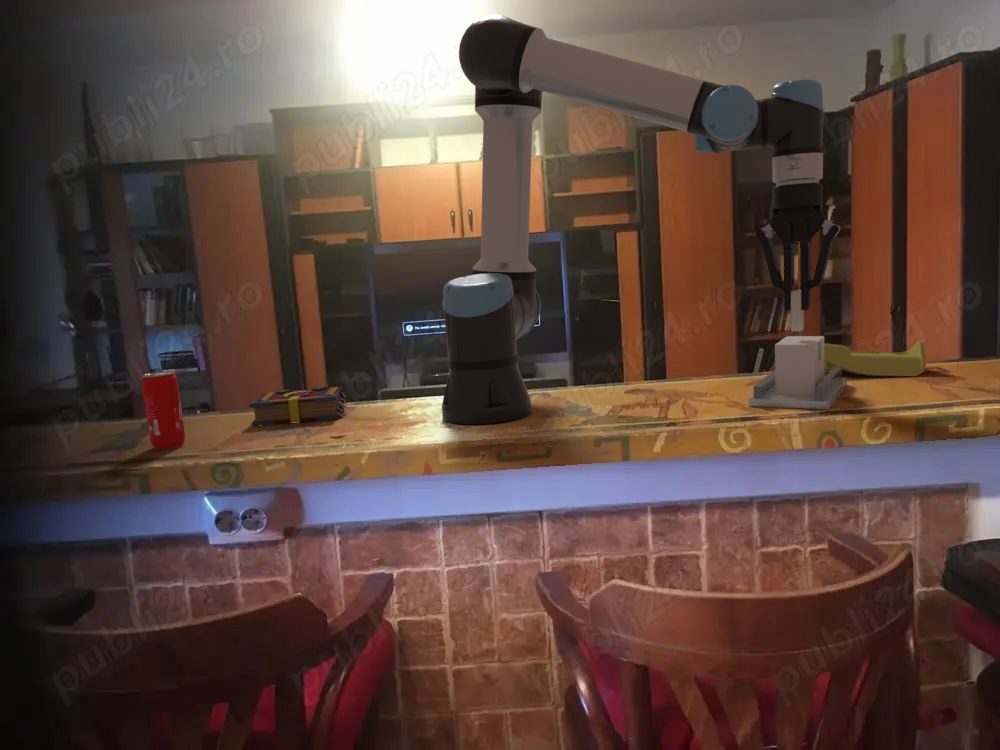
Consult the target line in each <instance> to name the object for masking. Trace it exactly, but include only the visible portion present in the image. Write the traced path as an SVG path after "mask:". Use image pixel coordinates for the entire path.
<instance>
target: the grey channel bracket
mask: <svg viewBox="0 0 1000 750" xmlns="http://www.w3.org/2000/svg"><path fill="white" fill-rule="evenodd" d="M842 372H843V369H842V366H834V367H833V368H832V370H831V371H830V372H829V373H826V375H825V378H824V379H823V380H822V381H821V382H820V383H819V384H818V386H817V387H816V388H815V395H812V394H780V393H776V386H775V369H773V370H771V372H770V373H769V374H767V375H766V376H765V377H763V379H761V380H760V381H758V382H757V383H756V384H755V385H753V394H752V395H751V396H749V398H748V407H765V408H784V409H785V408H787V409H788V408H789V409H810V410H811V409H813V410H815V409H816V410H830V409H831V408H832V406H833V405H834V404H835V402H836V400H837V399H838V398H839V397H840V395H841V394H842V392H843V391H844V390H845V389H846V387H847V384H848V378H847V377H843V375H842V374H843V373H842ZM832 404H833V405H832ZM830 407H831V408H830Z"/></svg>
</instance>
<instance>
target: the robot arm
mask: <svg viewBox="0 0 1000 750" xmlns="http://www.w3.org/2000/svg"><path fill="white" fill-rule="evenodd" d="M458 59H459V63H460V68H461V71H462V72H463V75H464V76H465V77H466V78H467V80H468V81H469V82H470V83H471V84H472V85H473V86H474V91H475V92H474V93H475V95H474V96H475V97H474V111H475V112H476V114H478V115H477V116H479V117H480V118H481V120H482V122H483V125H482V126H483V127H482V131H483V134H482V173H481V174H482V181H481V182H482V183H481V192H482V193H481V229H480V231H481V233H480V259H479V260H478V261H477V262H476V263H475V264H474V265H473V266H472V267H471V270H472V271H471V275H470V274H469V275H466V276H461V277H456V278H454V279H451V280H449V281H448V282H446V283H445V285H444V286H443V289H442V303H441V305H442V309H443V316H444V329H445V339H446V341H445V342H446V349H447V350H446V351H447V352H446V353H447V361H448V376H447V377H448V378H447V381H446V384H445V385H446V386H445V390H444V394H443V399H442V404H441V413H442V416H441V417H442V419H443V420H444V421H445V422H448V423H451V424H458V425H459V424H461V425H487V424H498V423H504V422H511V421H514V420H518V419H523V418H524V417H526V416H527V417H528V416H529V415H530V414H531V413H532V400H531V399H532V398H531V397H530V394H529V392H528V389H527V386H526V384H525V382H524V379H523V377H522V374H521V371H520V369H519V361H518V349H517V347H518V346H517V341H518V340H521V339H522V338H524V337H526V335H528V334H529V333H530V332H531V331H532V330H533V328H534V327H535V325H536V324H537V322H538V321H539V318H540V314H541V310H542V309H541V308H542V302H541V298H540V295H539V293H538V290H537V289H536V288H537V287H536V284H537V283H536V282H537V269H536V267H535V266H534V265H533V264H532V263H531V262H530V260H529V245H530V244H529V241H530V240H529V238H530V210H531V209H530V207H531V206H530V205H531V204H530V203H531V179H532V178H531V176H532V173H531V172H532V144H533V142H532V141H533V140H532V139H533V122H534V120H536V118H537V117H539V115H541V114H542V103H543V102H542V101H543V99H542V98H543V93H547V94H550V95H555V96H558V97H561V98H566V99H570V100H573V101H576V102H580V103H583V104H587V105H589V106H594V107H596V108H601V109H604V110H608V111H611V112H615V113H619V114H622V115H625V116H630V117H633V118H636V119H639V120H643V121H647V122H651V123H654V124H658V125H661V126H664V127H668V128H672V129H675V130H678V131H682V132H685V133H689V134H691V135H694V144H695V149H696V151H697V152H698V153H701V154H710V153H711V154H716V155H717V154H721V153H725V152H735V151H744V150H755V149H767V148H771V151H772V155H771V156H772V163H771V164H772V182H773V184H776V185H775V186H774V187H773V188H772V214H771V216H770V218H769V221H768V223H767V225H765V226H764V227H762V228H760V229H757V230H756V231H755V236H756V238H757V239H758V240H759V243H761V244H762V245H761V246H762V250H763V254H764V257H765V261H766V265H767V269H768V273H769V277H770V281H771V285H772V287H774V288H779V289H781V290H783V298H784V301H783V302H784V303H783V305H784V309H785V310H784V311H790V332H802V331H803V330H804V322H805V321H804V320H805V319H804V311H808V310H810V307H811V292H812V289H813V288H816V287H818V286H821V285H822V284H823V282H824V277H825V275H826V274H825V273H826V271H827V267H828V264H829V263H828V262H829V260H830V259H829V258H830V255H831V251H832V248H833V244H834V241H835V239H836V237H837V236H838V234H839V233H840V232H841V226H840V225H838V224H834V223H832V222H830V221H829V220H827V216H826V214H825V212H824V210H823V209H824V208H823V207H824V206H823V204H824V203H823V199H824V197H823V195H824V194H823V193H824V186H823V184H822V183H820V182H819V181H820V180H822V179H823V178H824V177H823V175H824V150H823V148H824V112H825V111H824V110H825V109H824V103H823V101H824V96H823V94H824V93H823V86H822V84H821V82H820V81H818V80H815V79H805V78H804V79H794V80H790V81H784V82H783V81H782V82H780V83H777V84H776V85H774V86H773V87H772V89H771V95H770V97H767V98H762V99H756V98H755V97H754V94H753V93H752V92H750V91H749V90H748V89H747V88H746V87H744V86H741V85H737V84H725V85H722V84H718V83H715V82H710V81H706V80H703V79H700V78H695V77H693V76H689V75H686V74H682V73H678V72H675V71H672V70H671V71H670V70H667V69H663V68H659V67H656V66H652V65H649V64H644V63H642V62H637V61H633V60H629V59H627V58H624V57H623V58H622V57H620V56H619V57H618V56H615V55H611V54H608V53H604V52H601V51H597V50H593V49H590V48H586V47H582V46H578V45H575V44H571V43H568V42H563V41H560V40H558V39H557V40H556V39H553V38H549V37H547V36H546V33H545V31H544V30H543V29H542V28H540V27H537V26H534V25H533V26H532V25H529V24H526V23H523V22H521V21H517V20H514V19H512V18H510V17H507V16H504V15H500V14H489V15H488V14H487V15H485V16H483V17H480V18H478V19H476V20H475V21H473V22H472V23H471V24H470V25H469V26H468V27H467V28H466V30H465V31H464V33H463V35H462V37H461V39H460V42H459V48H458ZM821 228H823V229H822V235H823V236H824V238H823V241H822V243H821V247H820V251H819V255H818V258H817V263H816V266H815V271H814V273H813V277H812V240H814V238H815V237H816V235H817V234H818V232H819V231H820V230H821ZM773 231H774V232H775V234H776V235H777V236H778V237H779V239H780V241H782V248H783V277H782V273H781V269H780V265H779V262H778V258H777V254H776V250H775V246H774V243H773V240H772V238H773V236H774V233H773ZM797 242H798V243H799V248H800V249H799V251H800V252H799V253H800V256H799V257H800V260H799V261H800V262H799V263H800V264H799V265H800V270H799V271H800V278H799V279H800V285H799V286H800V287H799V289H795V288H796V285H795V247H796V243H797ZM794 289H795V290H794Z"/></svg>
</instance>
